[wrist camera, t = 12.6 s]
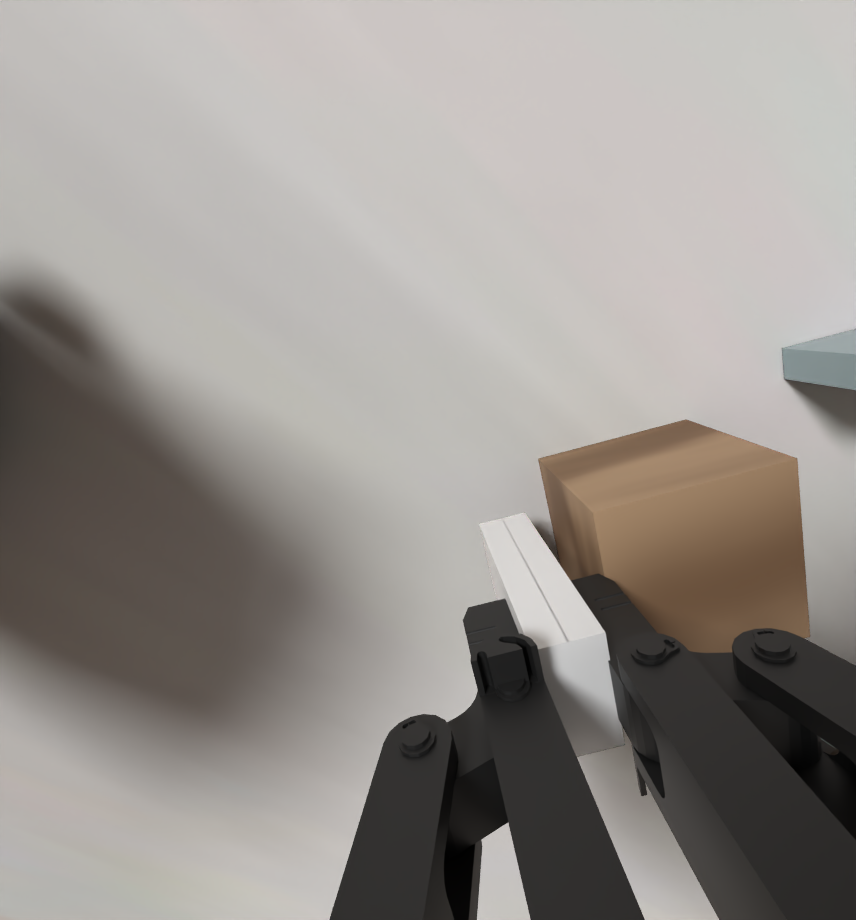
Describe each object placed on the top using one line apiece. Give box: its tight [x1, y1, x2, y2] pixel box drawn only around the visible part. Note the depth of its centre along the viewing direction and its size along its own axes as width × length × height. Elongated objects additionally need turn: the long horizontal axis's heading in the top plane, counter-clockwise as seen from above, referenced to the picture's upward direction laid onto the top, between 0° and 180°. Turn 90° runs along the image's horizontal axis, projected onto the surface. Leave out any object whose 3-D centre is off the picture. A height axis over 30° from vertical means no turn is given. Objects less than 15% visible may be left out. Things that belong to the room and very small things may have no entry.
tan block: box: [538, 420, 810, 653], centre depth 16 cm, size 5×5×5 cm
